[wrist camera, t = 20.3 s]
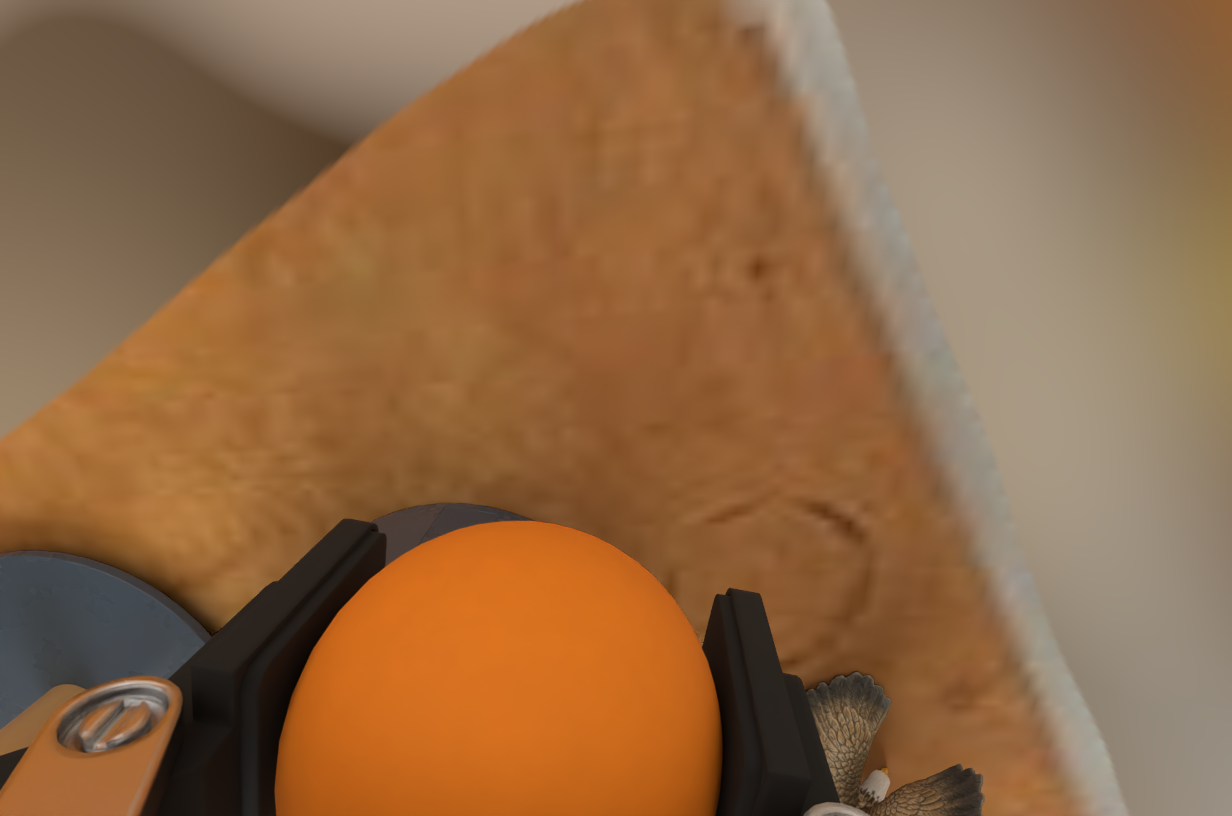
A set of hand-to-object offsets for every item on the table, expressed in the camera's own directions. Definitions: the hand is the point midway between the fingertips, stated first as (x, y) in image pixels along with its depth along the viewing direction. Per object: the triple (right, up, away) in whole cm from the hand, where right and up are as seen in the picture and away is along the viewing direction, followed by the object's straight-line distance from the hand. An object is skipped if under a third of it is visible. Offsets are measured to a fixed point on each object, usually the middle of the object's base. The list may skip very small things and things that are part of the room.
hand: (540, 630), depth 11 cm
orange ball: (0, -1, -2) cm, 2 cm away
